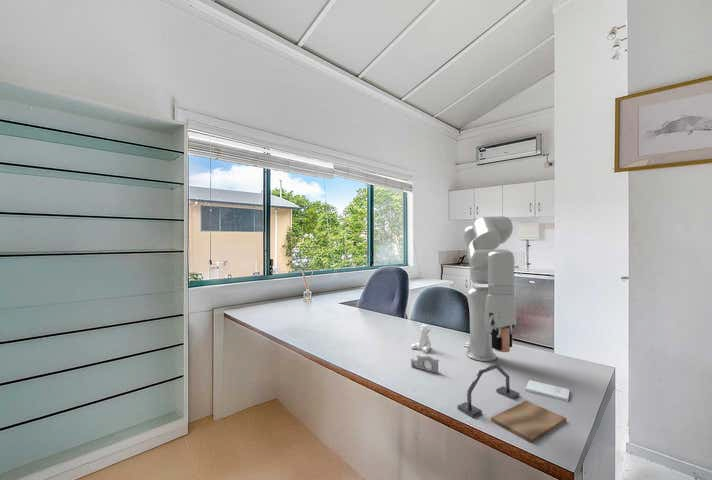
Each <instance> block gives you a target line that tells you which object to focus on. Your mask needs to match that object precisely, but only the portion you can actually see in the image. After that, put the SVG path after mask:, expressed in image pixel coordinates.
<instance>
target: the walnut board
mask: <svg viewBox="0 0 712 480" xmlns="http://www.w3.org/2000/svg"><path fill="white" fill-rule="evenodd" d="M490 418H491V419H490V421H491V422H493V423H494V424H496V425H498V426H500V427H502V428H503V429H505V430H507V431H509V432H511V433H512V434H514V435H516V436H518V437H520V438H522V439H524V440H525V441H527V442H529V443H531V444H532V443H534V442H536V441H537V440H539V439H541V438H543V437H544V436H545V435H546V434H549V433H550V432H551V431H554V430H555V429H556V428H558V427H560V426H561V425H563V424H565V423H566V422H567V417H565V416H563V415H561V414H558V413H556V412H554V411H552V410H549V409H547V408H544V407H542V406H540V405H537V404H535V403H533V402H530V401H528V400H524V401H522V402H520V403H518V404H517V405H514V406H512V407H510V408H508V409H506V410H504V411H502V412H499V413H498V414H496V415H494V416H491V417H490Z"/></svg>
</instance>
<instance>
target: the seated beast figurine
mask: <svg viewBox="0 0 712 480" xmlns="http://www.w3.org/2000/svg"><path fill="white" fill-rule="evenodd" d="M431 330H432V327H431V328H430V327H429V326H428V325H426V324H421V325H420V328H419V333H420V334H419V335H418V342H416V343H413V344H411V345H410V349H411V350H417V349H418V351H421V352H423V353H424V354H428V353H429V351H430V349H431V347H432V343H431V341H430V339H429V338H430V336H429V335H428V334H429V333H430V331H431ZM427 352H428V353H427Z"/></svg>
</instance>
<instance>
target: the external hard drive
mask: <svg viewBox="0 0 712 480" xmlns="http://www.w3.org/2000/svg"><path fill="white" fill-rule="evenodd" d="M525 391H526V392H529V393H531V394H535V395H536V394H537V395H541V396H544V397H548V398H552V399H556V400H559V401H560V400H561V401H565V402H569V398H570V397H569V396H570V392H571V391H570V388H569V389H568V388H564V387H560V386H557V385H556V386H555V385H552V384H548V383H543V382H539V381H535V380H531V379H528V382H527V384H526V386H525Z"/></svg>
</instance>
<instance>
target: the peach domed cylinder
mask: <svg viewBox="0 0 712 480" xmlns="http://www.w3.org/2000/svg"><path fill="white" fill-rule="evenodd" d="M495 330H496V331H497V329H496V328H495ZM500 337H501V338H502V350H501V351H500V350H497V349H494V351H496V352H499V353H509V352H510V351H511V349H510V348H511V347H510V337H509V328H508V327H507V326H506V327H502V328H501V336H500Z"/></svg>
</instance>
